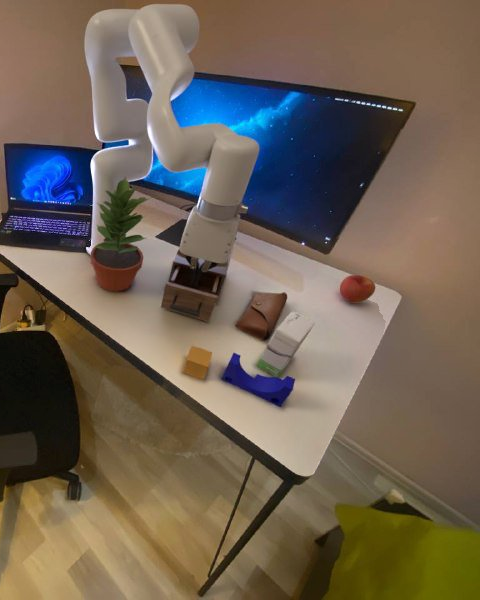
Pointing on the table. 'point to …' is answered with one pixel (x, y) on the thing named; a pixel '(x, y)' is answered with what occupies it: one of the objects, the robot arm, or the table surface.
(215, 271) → the cabinet
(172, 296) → the drawer
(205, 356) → the block
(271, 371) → the ink box
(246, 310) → the sunglasses case
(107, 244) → the potted plant
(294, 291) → the table surface
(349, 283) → the apple
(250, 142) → the robot arm
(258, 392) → the blue cradle holder
